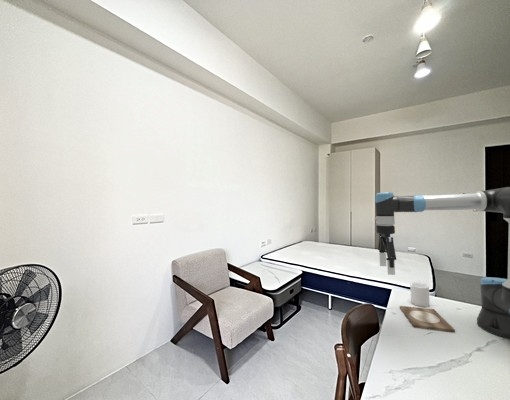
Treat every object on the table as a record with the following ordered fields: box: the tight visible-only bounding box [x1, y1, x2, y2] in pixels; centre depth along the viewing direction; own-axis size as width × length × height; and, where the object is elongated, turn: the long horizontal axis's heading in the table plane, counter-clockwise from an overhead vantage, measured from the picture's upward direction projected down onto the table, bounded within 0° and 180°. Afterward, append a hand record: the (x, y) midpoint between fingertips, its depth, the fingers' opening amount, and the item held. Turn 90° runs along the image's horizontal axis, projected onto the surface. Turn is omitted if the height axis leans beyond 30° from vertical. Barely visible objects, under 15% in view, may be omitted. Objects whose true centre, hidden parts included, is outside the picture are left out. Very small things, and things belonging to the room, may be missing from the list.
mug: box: [410, 282, 431, 308], centre depth 128 cm, size 9×12×11 cm
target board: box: [399, 305, 456, 334], centre depth 111 cm, size 16×20×1 cm
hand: (387, 270), depth 104 cm, fingers open, 13 cm apart
